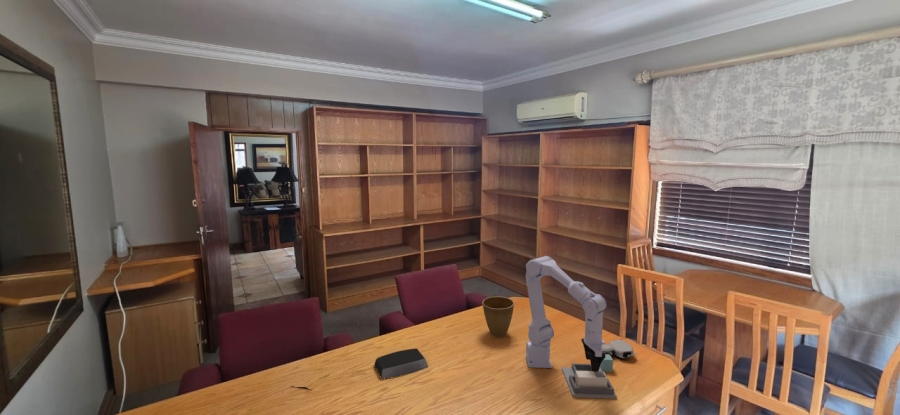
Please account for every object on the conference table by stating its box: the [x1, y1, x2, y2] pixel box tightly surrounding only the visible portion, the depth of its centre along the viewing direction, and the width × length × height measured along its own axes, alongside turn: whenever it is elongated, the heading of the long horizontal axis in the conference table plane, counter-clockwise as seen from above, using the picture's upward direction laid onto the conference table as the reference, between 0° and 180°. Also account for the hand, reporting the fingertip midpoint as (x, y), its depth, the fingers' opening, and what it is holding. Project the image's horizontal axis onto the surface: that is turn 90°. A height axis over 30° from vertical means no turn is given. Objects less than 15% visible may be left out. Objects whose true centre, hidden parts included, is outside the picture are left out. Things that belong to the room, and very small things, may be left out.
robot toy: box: [601, 338, 638, 359], centre depth 156 cm, size 12×4×15 cm
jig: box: [561, 362, 618, 400], centre depth 136 cm, size 15×17×3 cm
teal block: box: [600, 354, 614, 373], centre depth 145 cm, size 4×4×5 cm
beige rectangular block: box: [575, 371, 608, 388], centre depth 132 cm, size 10×4×5 cm, turn 86°
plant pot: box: [482, 296, 515, 339], centre depth 174 cm, size 15×15×16 cm
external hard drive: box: [374, 347, 429, 380], centre depth 149 cm, size 13×19×4 cm
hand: (592, 365), depth 131 cm, fingers open, 7 cm apart
